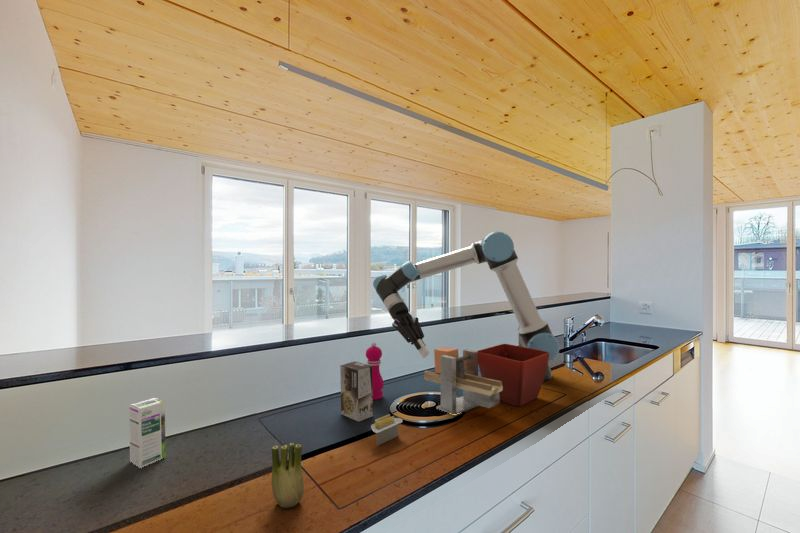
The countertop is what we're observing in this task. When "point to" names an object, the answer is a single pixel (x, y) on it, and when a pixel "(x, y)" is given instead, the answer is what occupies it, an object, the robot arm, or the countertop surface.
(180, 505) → the countertop surface
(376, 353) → the pepper mill
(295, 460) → the fennel bulb
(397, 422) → the platform
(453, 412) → the pivot stand
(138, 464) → the syrup box
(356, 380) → the coffee box
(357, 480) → the countertop surface
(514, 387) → the plant pot
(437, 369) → the rider
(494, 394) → the beam
